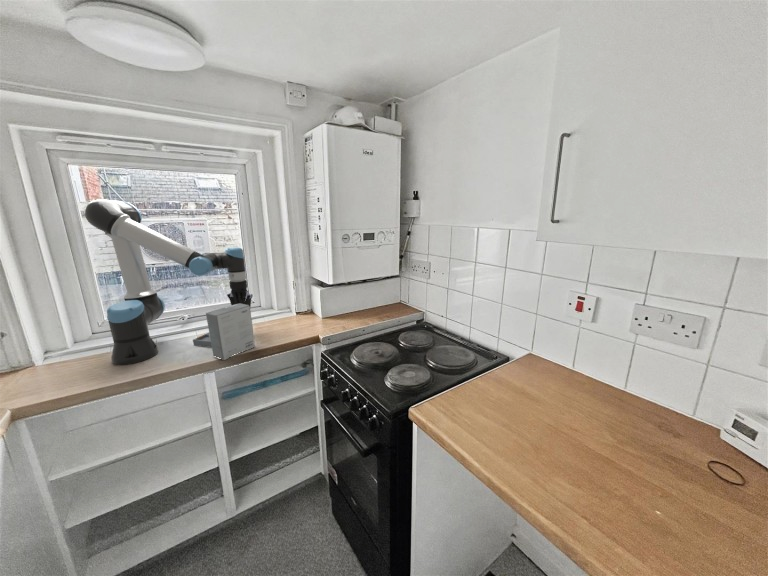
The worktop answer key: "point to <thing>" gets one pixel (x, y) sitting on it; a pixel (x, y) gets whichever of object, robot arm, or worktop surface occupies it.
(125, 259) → the robot arm
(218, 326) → the hard drive box
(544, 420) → the worktop surface
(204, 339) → the dark grey tray
